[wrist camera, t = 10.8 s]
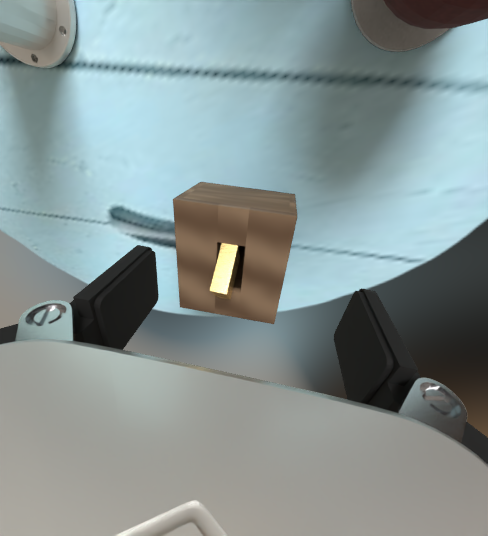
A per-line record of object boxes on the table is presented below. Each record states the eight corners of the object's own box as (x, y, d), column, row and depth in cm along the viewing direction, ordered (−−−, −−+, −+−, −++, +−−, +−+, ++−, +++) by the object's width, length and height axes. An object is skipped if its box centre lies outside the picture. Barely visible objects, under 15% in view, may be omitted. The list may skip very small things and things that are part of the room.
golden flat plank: (221, 242, 29) (209, 290, 27) (238, 245, 28) (226, 294, 27) (226, 255, 33) (216, 296, 32) (240, 258, 33) (230, 299, 32)
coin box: (200, 181, 35) (173, 199, 27) (294, 194, 34) (297, 216, 26) (201, 272, 44) (180, 307, 35) (276, 284, 42) (274, 324, 34)
